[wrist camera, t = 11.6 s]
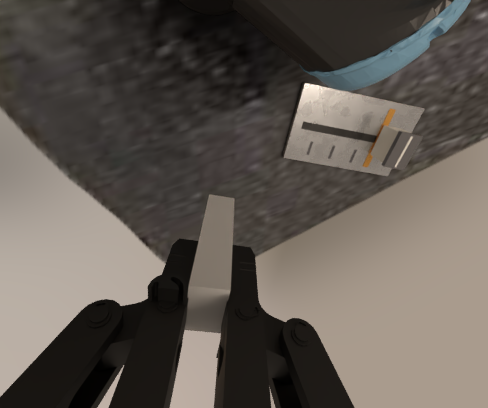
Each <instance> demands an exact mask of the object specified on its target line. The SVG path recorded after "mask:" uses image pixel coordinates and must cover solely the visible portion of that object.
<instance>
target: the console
mask: <svg viewBox="0 0 488 408" xmlns="http://www.w3.org/2000/svg"><path fill="white" fill-rule="evenodd" d="M423 111H424V108H420V107H416V106H412V105H407V104H402V103H398V102H393V101H388V100H384V99H379V98H374V97H370V96H365V95H361V94H356V93H351V92H347V91H340V90H336V89H333V88H328V87H323V86H319V85H314V84H310V83H305V82H303V83H302V87H301V90H300V94H299V98H298V101H297V105H296V108H295V112H294V115H293V119H292V122H291V126H290V129H289V133H288V136H287V140H286V143H285V147H284V151H283V154H282V155H283V157H284V158H288V159H294V160H299V161H305V162H311V163H316V164H322V165H327V166H333V167H339V168H344V169H350V170H356V171H361V172H367V173H372V174H378V175H384V176H388V175H389V173H390V171H391V169H392V168H388V167H384V166H382V163H381V162H380V161H379V160H377V159H376V158H375V157H373V156H372V155H371V152H372V149H373V147H374V145H375V143H376V141H377V139H378V137H379V135H380V133H381V131H382V129H383V127H384V125H386V126H391V127H396V128H401V129H403V130H405V131H408V132H410V133H412V131H413V129H414V127H415V125H416V124H417V122H418V120H419V118H420V116H421V114H422V113H423Z"/></svg>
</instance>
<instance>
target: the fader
mask: <svg viewBox="0 0 488 408" xmlns="http://www.w3.org/2000/svg"><path fill="white" fill-rule="evenodd" d="M423 137H424V136H421V135H418V134H413V133H410V132H408V131H405V130H403V129H401V128H396V127H391V126H386V125H384V127H383V129H382V131H381V133H380V135H379V137H378V139H377V141H376V143H375V145H374V147H373V149H372V152H371V155H372V156H373V157H375V158H376V159H377V160H379V161H380V162H381V163H382V166H384V167H388V168H394V169H399V170H404V169H405V168H406V166H407V164H408V162H409V161H410V159H411V157H412V156H413V154H414V152H415V150H416V149H417V147H418V145H419V143H420V142H421V140H422V138H423Z"/></svg>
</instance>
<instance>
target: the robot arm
mask: <svg viewBox="0 0 488 408" xmlns="http://www.w3.org/2000/svg"><path fill="white" fill-rule="evenodd" d="M179 1H180V2H181V3H182V4H184V5H185V6H187V7H188V8H190V9H192V10H194V11H196V12H199V13H202V14H206V15H221V14H226V13H229V12H231V11H234V10H236V11H237V12H238V13H239V14H241V15H242V16H243V17H244V18H245V19H246V20H248V21H249V22H250V23H251V24H252V25H254V26H255V27H256V28H257V29H258V30H259V31H261V32H262V33H263V34H264V35H265V36H266V37H268V38H269V39H270V40H271V41H272V42H274V43H275V44H276V45H277V46H278V47H279V48H281V49H282V50H283V51H284V52H285V53H286V54H288V55H289V56H290V57H291V58H292V59H294V60H295V61H296V62H297V63H298V64H299V66H300V67H301V69H302V70H303V71H305V72H307V73H308V74H309V75H313V76H315V77H317V78H318V79H319V80H321V81H322V82H323V83H325V84H326V85H327V86H329V87H330V88H333V89H336V90H340V91H351V90H357V89H361V88H364V87H367V86H370V85H372V84H374V83H377V82H379V81H381V80H383V79H385V78H387V77H388V76H390V75H392V74H394V73H395V72H397V71H398V70H400V69H402V68H403V67H405V66H406V65H408V64H409V63H410V62H412V61H413V60H414V59H416V58H417V57H418V56H420V55H421V54H422V53H423V52H424V51H426V50H427V49H428V48H429V45H430V43H429V42H430V41H431V40H432V39H434V38H435V37H437V36H440V35H442V34H444V33H445V32H446V31H447V30H448V29H449V28H450V27H451V26H452V25H453V24H454V23H455V22H456V21H457V19H458V18H459V17H460V16H461V14H462V13H463V12H464V10H465V9H466V7H467V6H468V4H469V2H470V1H471V0H179ZM233 222H234V198H229V197H222V196H216V195H209V198H208V202H207V207H206V211H205V216H204V220H203V224H202V229H201V233H200V238H199V241H194V240H186V239H179V240H177V241H176V242H175V243H174V244H173V245H172V248H171V251H170V254H169V256H168V259H167V262H166V265H165V268H164V270H163V273H162V275H160V276H157V277H156V278H155V279H153V280H152V281H151V283H150V284H149V285H148V299H146V300H144V301H142V302H139V303H136V304H131V305H125V306H120V305H119V304H118V303H117V302H115V301H113V300H107V299H105V300H99V301H96V302H94V303H92V304H89V305H88V306H87V307H85V308H84V309H83V310H82V311H81V312H80V313H79V314H78V315H77V316H76V317H75V318H74V319H73V320H72V321H71V322H70V323H69V324H68V326H66V328H65V329H64V330H63V331H62V332H61V333H60V334H59V335H58V336H57V337H56V338H55V339H54V340H53V341H52V342H51V344H50V345H49V346H48V347H47V348H46V349H45V350H44V351H43V352H42V353H41V354H40V355H39V356H38V357H37V359H36V360H35V361H34V362H33V363H32V364H31V365H30V366H29V367H28V368H27V369H26V370H25V371H24V372H23V373H22V375H21V376H20V377H19V378H18V379H17V380H16V381H15V382H14V383H13V384H12V385H11V386H10V387H9V388H8V389H7V391H6V392H5V393H4V394H3V395H2V396H1V397H0V408H97V407H98V405H99V404H100V402H101V401H102V399H103V397H104V396H105V394H106V393H107V391H108V389H109V388H110V386H111V384H112V383H113V381H114V380H115V378H116V376H117V375H118V373H119V372H120V370H121V368H122V367H123V365H124V368H123V371H122V373H121V376H120V379H119V381H118V384H117V387H116V389H115V392H114V395H113V397H112V400H111V403H110V405H109V408H169V407H170V402H171V397H172V392H173V388H174V382H175V378H176V372H177V367H178V363H179V358H180V352H181V347H182V340H183V334H184V330H194V331H205V332H214V333H221V340H220V344H219V348H218V353H217V358H218V364H217V377H216V389H215V402H214V408H271V401H270V389H271V393H272V397H273V400H274V404H275V407H276V408H354V406H353V404H352V402H351V400H350V398H349V396H348V394H347V392H346V390H345V388H344V386H343V384H342V382H341V380H340V378H339V377H338V374H337V372H336V370H335V368H334V366H333V364H332V362H331V360H330V358H329V356H328V354H327V352H326V350H325V348H324V346H323V344H322V342H321V340H320V338H319V336H318V334H317V332H316V331H315V329H314V328H313V327H312V326H311V325H310V324H309V323H308V322H306V321H304V320H302V319H299V318H292V319H290V320H288V321H287V322H283V321H281V320H279V319H277V318H274V317H272V316H270V315H269V314H267V313H266V312H265V311H264V310H263V308H261V305H260V303H259V300H258V290H257V276H256V265H255V264H256V263H255V255H254V253H253V251H252V249H251V248H250V247H243V246H236V245H233ZM269 386H270V389H269Z"/></svg>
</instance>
